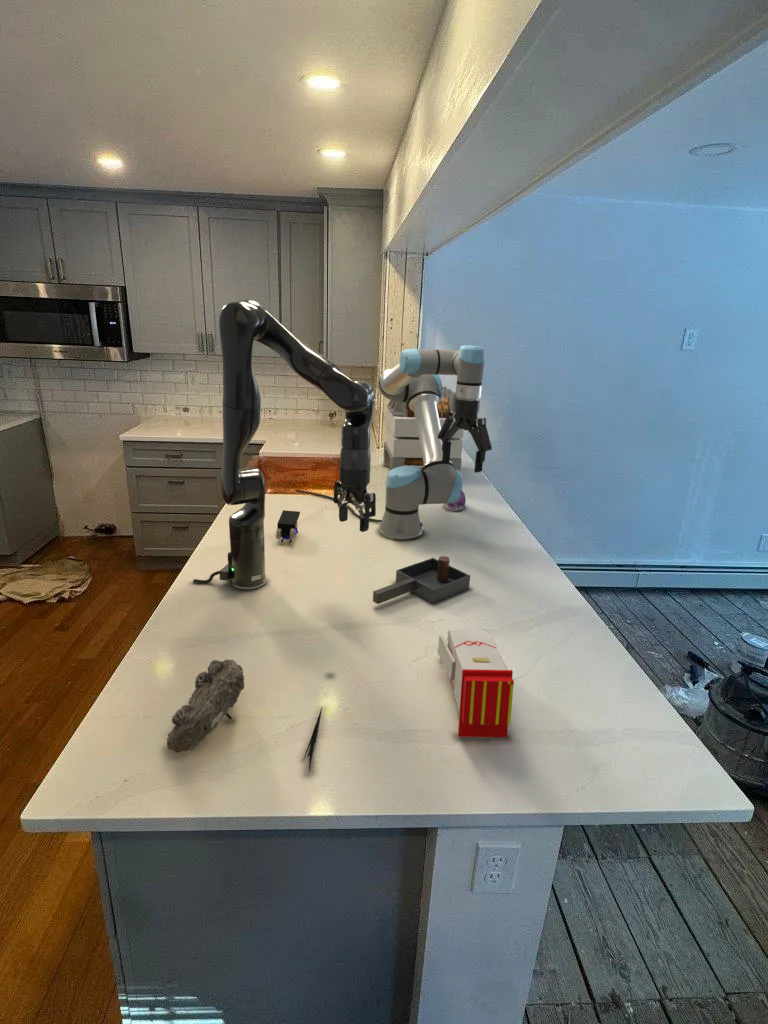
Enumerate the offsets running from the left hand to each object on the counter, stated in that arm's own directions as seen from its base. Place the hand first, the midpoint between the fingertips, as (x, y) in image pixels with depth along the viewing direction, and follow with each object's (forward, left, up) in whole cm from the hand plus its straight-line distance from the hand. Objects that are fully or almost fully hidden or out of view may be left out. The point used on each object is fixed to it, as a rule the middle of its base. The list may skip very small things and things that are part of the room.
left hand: (353, 525), depth 145 cm
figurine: (+18, +87, -22) cm, 92 cm away
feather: (+7, -46, -22) cm, 51 cm away
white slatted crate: (-5, +133, -22) cm, 135 cm away
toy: (+34, -29, -22) cm, 50 cm away
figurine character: (-33, +36, -22) cm, 54 cm away
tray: (+15, +11, -22) cm, 29 cm away
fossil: (-13, -51, -22) cm, 57 cm away
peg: (+22, +20, -22) cm, 37 cm away
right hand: (+22, +44, +7) cm, 50 cm away
